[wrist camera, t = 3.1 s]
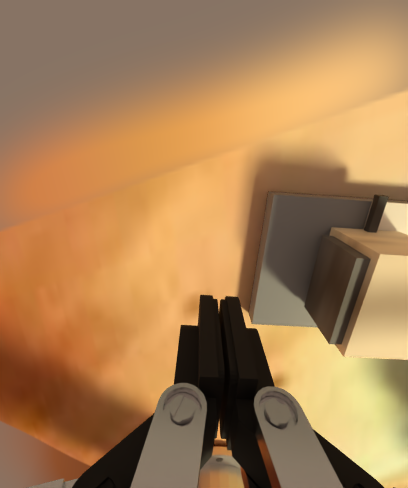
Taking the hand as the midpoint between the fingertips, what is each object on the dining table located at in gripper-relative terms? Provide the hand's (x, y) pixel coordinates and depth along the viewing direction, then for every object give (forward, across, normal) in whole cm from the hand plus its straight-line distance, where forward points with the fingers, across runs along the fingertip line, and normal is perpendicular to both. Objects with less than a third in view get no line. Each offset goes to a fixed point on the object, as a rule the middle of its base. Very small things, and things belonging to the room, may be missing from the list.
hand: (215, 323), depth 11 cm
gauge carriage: (+8, -11, 0) cm, 13 cm away
